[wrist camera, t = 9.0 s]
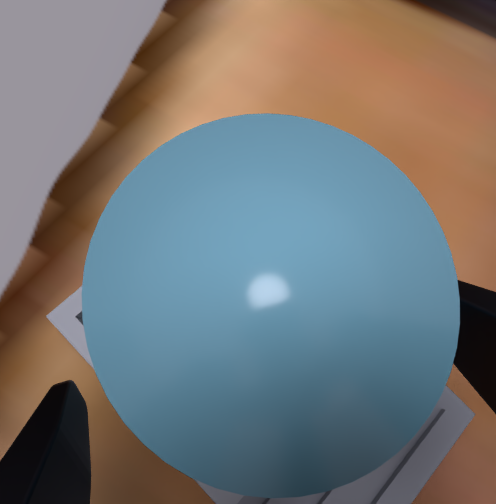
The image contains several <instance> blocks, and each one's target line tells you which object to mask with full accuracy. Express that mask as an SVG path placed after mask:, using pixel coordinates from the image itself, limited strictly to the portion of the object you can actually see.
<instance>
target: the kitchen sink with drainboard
mask: <svg viewBox="0 0 496 504" xmlns="http://www.w3.org/2000/svg"><path fill="white" fill-rule="evenodd" d="M46 317H47V318H48V319H49V320H50V321H51V322H52V323H53V325H54V326H55V327H56V328H57V329H58V330H59V331H60V332H61V333H62V335H63V336H64V337H65V338H66V339H67V340H68V341H69V342H70V343H71V344H72V346H73V347H74V348H75V349H76V350H77V351H78V352H79V353H80V354H81V355H82V357H83V358H84V359H85V360H86V361H87V362H88V363H89V364H90V365H91V366H92V368H93V369H94V366H93V363H92V360H91V357H90V354H89V351H88V348H87V343H86V337H85V331H84V326H83V319H82V286H81V287H80V288H79V289H78V290H77V291H75V292H74V293H73V294H72V295H71V296H69V297H68V298H67V299H66V300H65V301H64V302H62V303H61V304H60V305H59V306H58V307H56V308H55V309H54V310H53V311H52V312H51V313H49V314H48V315H47V316H46ZM474 416H475V414H474V413H473V412H472V411H471V410H470V409H469V408H468V407H467V406H466V405H465V404H464V403H463V402H462V401H461V400H460V399H459V398H458V397H457V396H456V395H455V394H454V393H453V392H452V391H451V390H450V389H449V388H448V387H447V386H446V385H445V387H444V390H443V392H442V395H441V397H440V398H439V400H438V402H437V404H436V405H435V407H434V409H433V411H432V413H431V414H430V416H429V417H428V419H427V420H426V421H425V423H424V424H423V425H422V427H421V428H420V429H419V431H418V432H417V433H416V435H415V436H414V437H413V438H412V439H411V440H410V441H409V442H408V443H407V444H406V445H405V446H404V447H403V448H402V449H401V450H400V451H399V452H398V453H397V454H396V455H395V456H393V457H392V458H390V459H389V460H388V461H386V462H385V463H384V464H382V465H381V466H380V467H378V468H377V469H376V470H374V471H372V472H370V473H369V474H367V475H365V476H363V477H361V478H359V479H357V480H356V481H354V482H352V483H349V484H346V485H344V486H341V487H338V488H335V489H332V490H330V491H327V492H322V493H317V494H312V495H307V496H302V497H290V498H263V497H254V496H244V495H240V494H236V493H232V492H228V491H224V490H220V489H217V488H214V487H212V486H209V485H207V484H205V483H202V482H200V481H198V480H195V479H194V480H195V481H196V482H197V483H198V484H199V486H200V487H201V488H202V489H203V490H204V491H205V492H206V493H207V494H208V495H209V497H210V498H211V499H212V500H213V501H214V502H215V503H216V504H411V503H412V502H413V500H414V499H415V497H416V496H417V495H418V493H419V492H420V491H421V489H422V488H423V486H424V485H425V484H426V482H427V481H428V479H429V478H430V477H431V475H432V474H433V472H434V471H435V470H436V468H437V467H438V466H439V464H440V463H441V461H442V460H443V459H444V457H445V456H446V454H447V453H448V452H449V450H450V449H451V447H452V446H453V445H454V443H455V442H456V441H457V439H458V438H459V436H460V435H461V434H462V432H463V431H464V429H465V428H466V427H467V425H468V424H469V423H470V421H471V420H472V418H473V417H474Z"/></svg>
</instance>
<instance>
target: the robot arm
mask: <svg viewBox="0 0 496 504" xmlns="http://www.w3.org/2000/svg"><path fill="white" fill-rule="evenodd" d="M457 281H458V289H459V297H460V326H459V335H458V343H457V349H456V353H455V357H454V361H453V364H454V365H455V366H456V367H457V368H458V370H459V371H460V372H461V373H462V374H463V376H464V377H465V378H466V379H467V380H468V382H469V383H470V384H471V385H472V386H473V387H474V389H475V390H476V391H477V392H478V393H479V395H480V396H481V397H482V398H483V399H484V401H485V402H486V403H487V404H488V405H489V407H490V408H491V409H492V410H493V411H494V413H495V414H496V292H494V291H491V290H488V289H484V288H481V287H478V286H475V285H472V284H469V283H466V282H462V281H459V280H457ZM90 491H91V461H90V445H89V428H88V412H87V406H86V402H85V400H84V398H83V397H82V395H81V393H80V391H79V390H78V388H77V386H76V384H75V383H74V382H73V381H72V380H68V381H64V382H61V383H58V384H55V385H53V386H52V387H51V388H50V390H49V391H48V393H47V394H46V395H45V397H44V398H43V400H42V401H41V403H40V404H39V406H38V407H37V409H36V410H35V411H34V413H33V414H32V416H31V417H30V419H29V420H28V422H27V423H26V425H25V426H24V427H23V429H22V430H21V432H20V433H19V435H18V436H17V438H16V439H15V441H14V442H13V443H12V445H11V446H10V448H9V449H8V451H7V452H6V454H5V455H4V457H3V458H2V459H1V461H0V504H90Z"/></svg>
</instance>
